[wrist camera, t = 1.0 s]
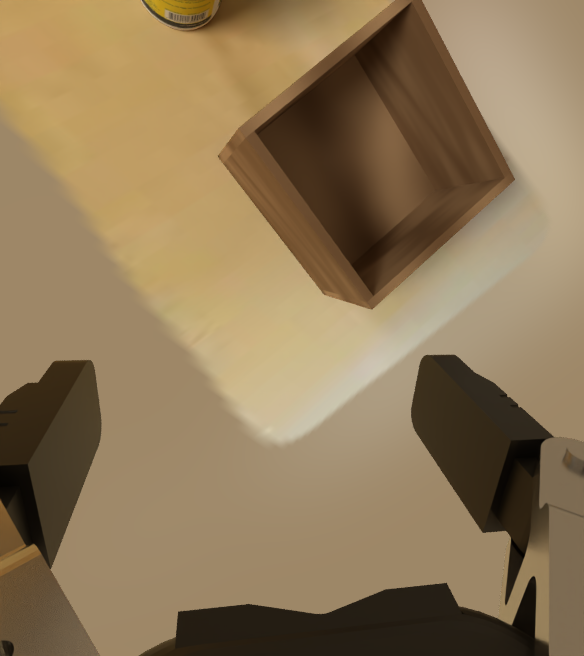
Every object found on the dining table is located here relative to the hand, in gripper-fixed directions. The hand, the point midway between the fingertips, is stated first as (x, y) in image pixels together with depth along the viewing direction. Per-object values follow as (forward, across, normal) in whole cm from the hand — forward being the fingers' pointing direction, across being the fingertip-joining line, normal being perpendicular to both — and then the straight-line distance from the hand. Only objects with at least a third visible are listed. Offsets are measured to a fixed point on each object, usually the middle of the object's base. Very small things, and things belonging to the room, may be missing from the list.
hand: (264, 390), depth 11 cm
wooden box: (+20, -6, -4) cm, 22 cm away
